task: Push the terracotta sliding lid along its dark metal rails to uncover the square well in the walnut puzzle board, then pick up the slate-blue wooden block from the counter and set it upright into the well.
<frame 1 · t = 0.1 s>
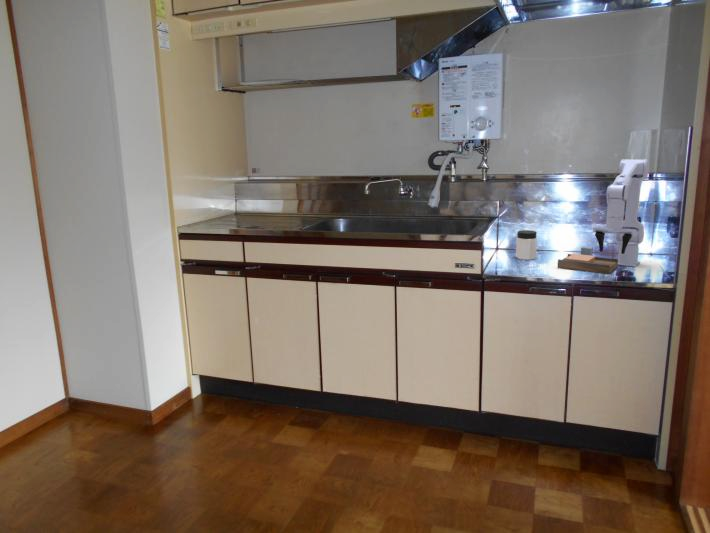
hand: (612, 252, 209), 10 cm above the counter, fingers open, 7 cm apart
lid: (580, 258, 229), point 3 cm above the counter, slide at 0.0 cm
block: (586, 260, 241), on the counter
board: (587, 267, 228), on the counter
jar: (525, 258, 249), on the counter
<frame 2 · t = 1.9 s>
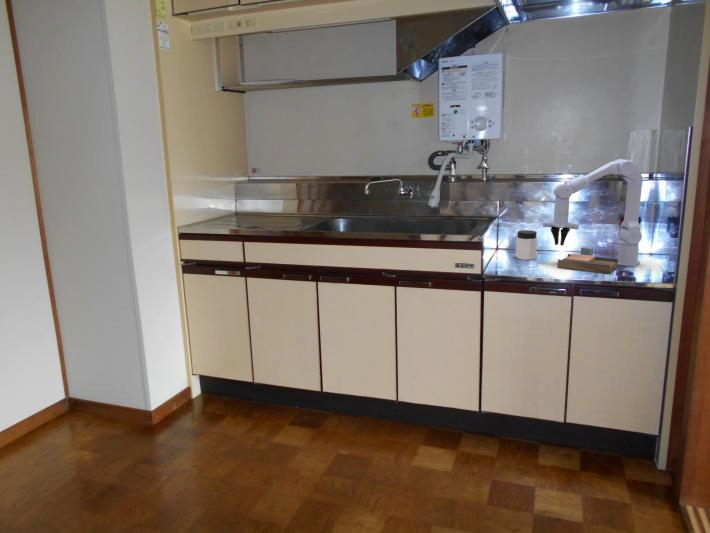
hand: (559, 244, 234), 8 cm above the counter, fingers closed
nothing on the counter moved.
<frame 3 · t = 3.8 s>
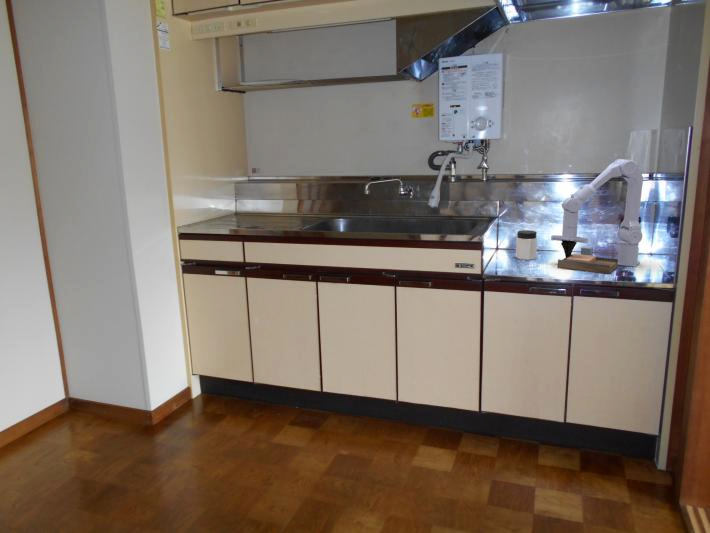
hand: (567, 258, 233), 3 cm above the counter, fingers closed
lid: (581, 259, 229), point 3 cm above the counter, slide at 0.4 cm, touching gripper
everything else where it was.
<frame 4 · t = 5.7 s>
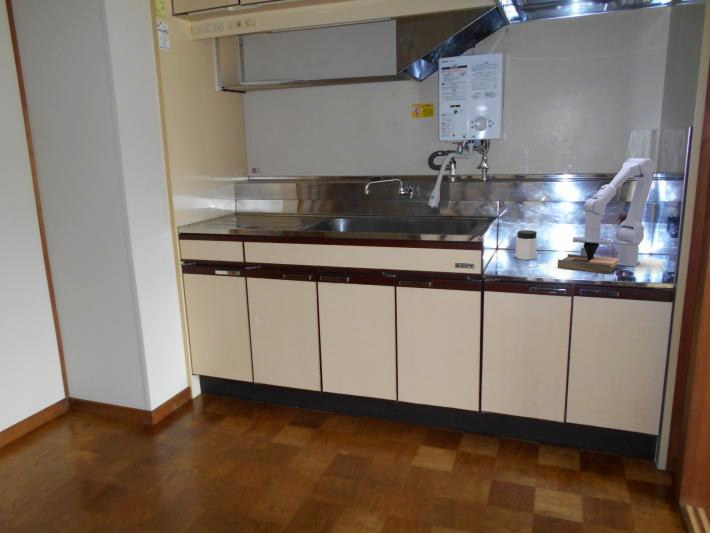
hand: (590, 260, 227), 3 cm above the counter, fingers closed
lid: (604, 261, 224), point 3 cm above the counter, slide at 9.4 cm, touching gripper
everything else where it was.
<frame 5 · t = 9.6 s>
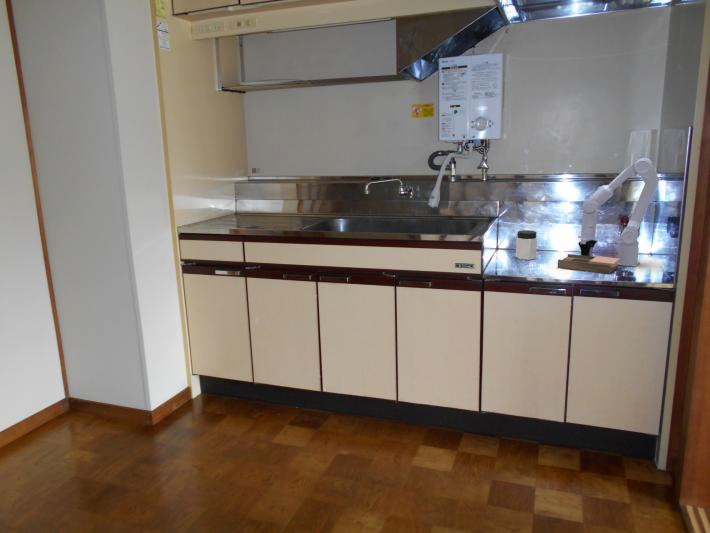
hand: (586, 257, 241), 1 cm above the counter, fingers closed on block, 4 cm apart
lid: (604, 261, 224), point 3 cm above the counter, slide at 9.5 cm
block: (586, 260, 241), on the counter, touching gripper
everything else where it was.
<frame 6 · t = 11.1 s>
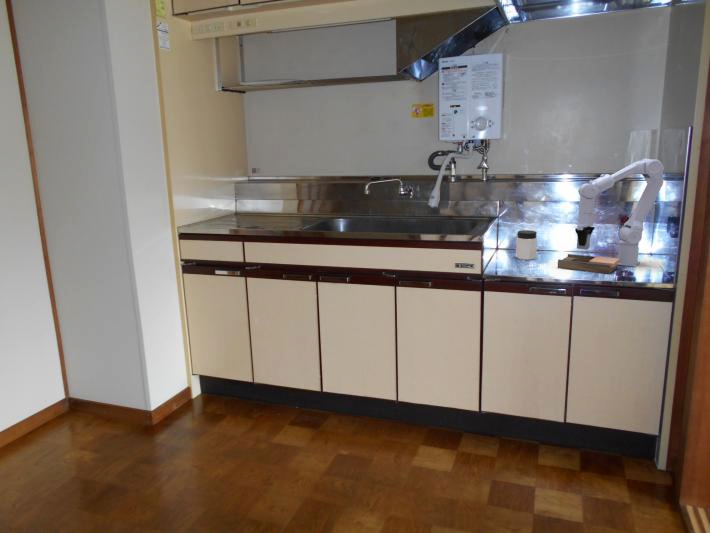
hand: (583, 244, 233), 8 cm above the counter, fingers closed on block, 4 cm apart
block: (583, 248, 233), point 7 cm above the counter, touching gripper
everything else where it was.
when the fingers open (3 cm above the counter, at t = 12.8 s): block drops 1 cm, resting on board.
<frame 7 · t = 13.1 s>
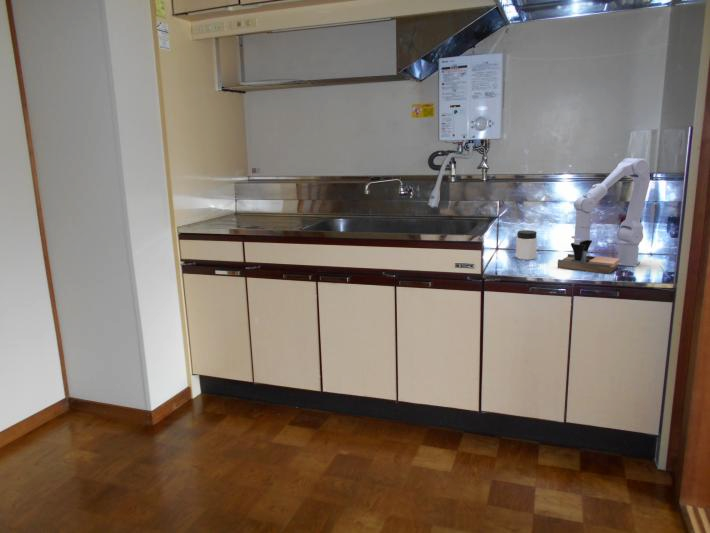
hand: (580, 258, 229), 3 cm above the counter, fingers open, 6 cm apart
block: (579, 265, 230), resting on board
everything else where it was.
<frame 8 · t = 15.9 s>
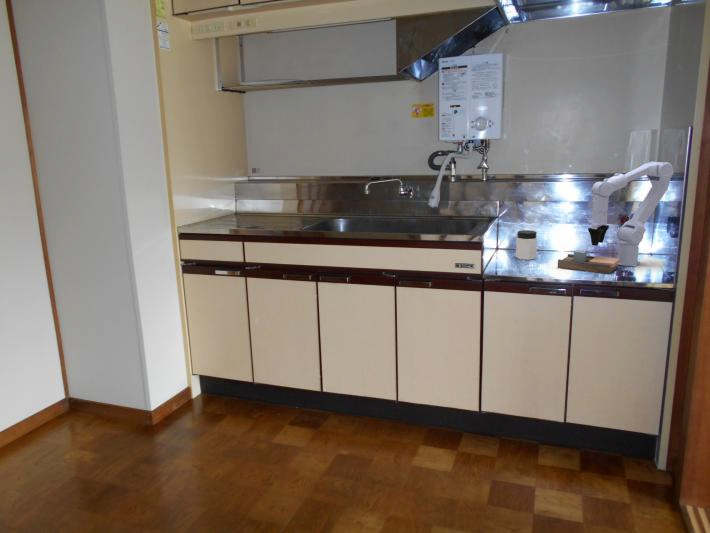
hand: (597, 243, 229), 9 cm above the counter, fingers open, 7 cm apart
nothing on the counter moved.
at the end: lid slide at 9.5 cm; block 0.2 cm from the target spot on the board, point 0.5 cm above the board's base; block tilted 0° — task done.
